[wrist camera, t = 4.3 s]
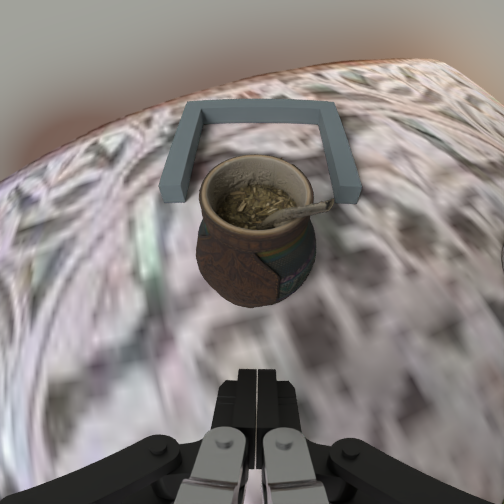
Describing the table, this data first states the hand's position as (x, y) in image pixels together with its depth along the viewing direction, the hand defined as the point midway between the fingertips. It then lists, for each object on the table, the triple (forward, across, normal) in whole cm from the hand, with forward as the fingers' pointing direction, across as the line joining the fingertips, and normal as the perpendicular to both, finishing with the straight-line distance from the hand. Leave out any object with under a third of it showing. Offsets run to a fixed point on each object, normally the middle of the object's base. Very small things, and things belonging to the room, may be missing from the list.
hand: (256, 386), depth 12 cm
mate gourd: (+10, 0, -2) cm, 10 cm away
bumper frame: (+18, 0, -11) cm, 21 cm away
